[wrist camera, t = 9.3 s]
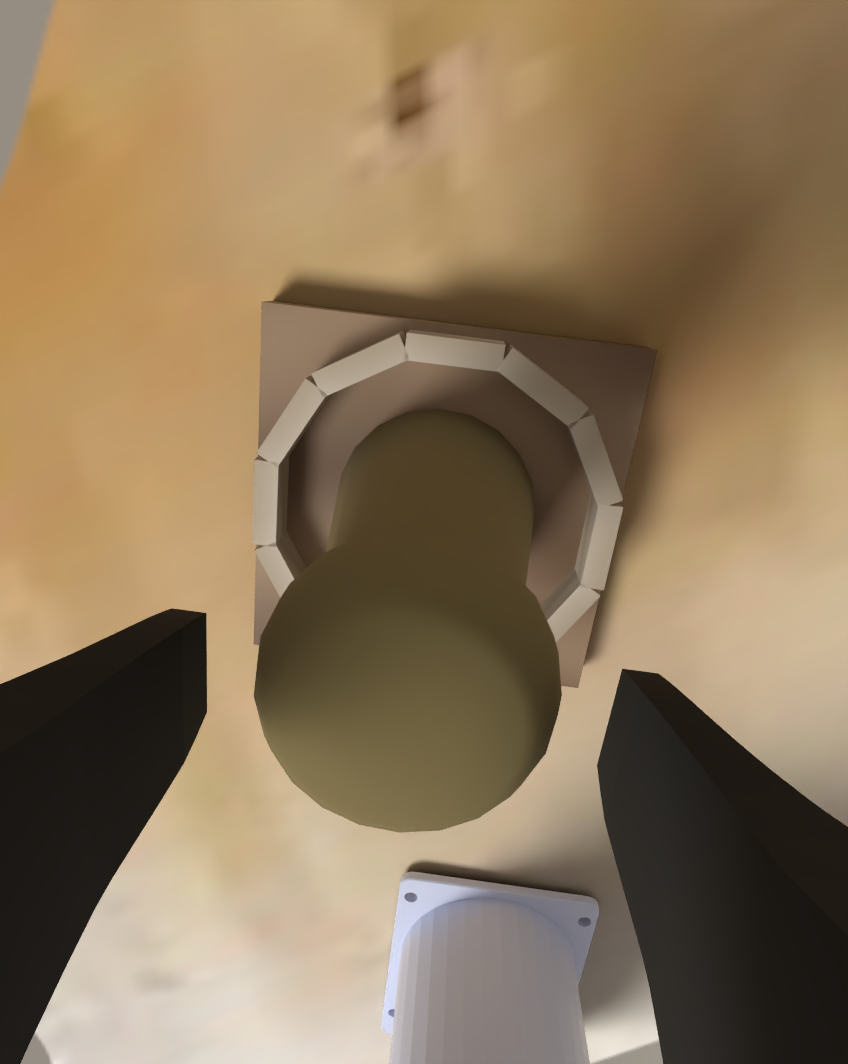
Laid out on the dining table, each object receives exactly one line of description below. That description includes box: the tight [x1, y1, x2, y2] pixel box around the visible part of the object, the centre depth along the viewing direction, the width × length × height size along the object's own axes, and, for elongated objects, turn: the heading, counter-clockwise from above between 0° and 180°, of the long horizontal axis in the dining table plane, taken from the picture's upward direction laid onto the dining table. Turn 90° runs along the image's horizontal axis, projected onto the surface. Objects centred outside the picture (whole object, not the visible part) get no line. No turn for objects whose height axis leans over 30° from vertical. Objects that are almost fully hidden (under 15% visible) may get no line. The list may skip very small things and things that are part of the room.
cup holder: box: [253, 301, 657, 688], centre depth 20 cm, size 11×11×2 cm
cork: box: [254, 409, 562, 832], centre depth 15 cm, size 6×6×11 cm
